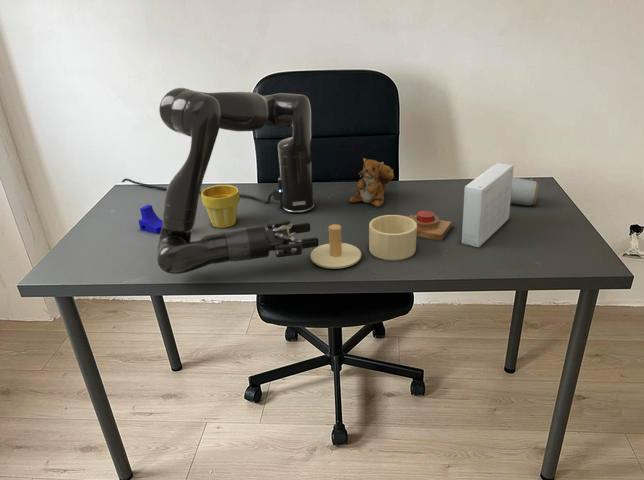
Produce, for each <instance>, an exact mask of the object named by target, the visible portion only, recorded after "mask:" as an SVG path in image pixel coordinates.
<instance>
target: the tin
mask: <svg viewBox="0 0 644 480" xmlns="http://www.w3.org/2000/svg"><path fill="white" fill-rule="evenodd" d="M417 237H418V236H417V223H416V222H415V221H414V220H413V219H411V218H409V216H406V215H399V214H385V215H379V216H377V217H374V218H372V220H370V221H369V224H368V248H369V249H368V251H369V252H370V254H371V255H372V256H373V257H375V258H378V259H382V260H386V261H399V260H400V261H401V260H405V259H408V258H410V257H412V256H413V255H414V254H415V253H416V250H417Z"/></svg>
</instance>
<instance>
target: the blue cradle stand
mask: <svg viewBox="0 0 644 480" xmlns="http://www.w3.org/2000/svg"><path fill="white" fill-rule="evenodd" d="M139 211H140V215H141V218H140V219H139V220H138V225H139V229H140V231H141V232H147V233H151V234H156V235H158V234H161V229H162V225H163V223H162V218H160V217H158V215H157V214H156V213H155V210H154V208H153V205H151V204H146V205H144V206H142V207H140V208H139Z"/></svg>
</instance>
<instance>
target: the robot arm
mask: <svg viewBox="0 0 644 480" xmlns="http://www.w3.org/2000/svg"><path fill="white" fill-rule="evenodd" d="M158 110H159V111H158V112H159V117H160V120H161V121H162V122H163V124H164V125H165V126H166V128H168V129H170V130H171V131H173V132H175V133H177V134H180V135H184V136H186V137H190V139H191V140H190V149H189V152H188V155H187V158H186V160H185V162H184V163H183V164H182V165H181V168H180V169H179V170H178V172H176V174H175V175H174V176H173V178H172V179H171V180H170V182H169V184H168V186H167V187H163V186H157V185H154V184H153V185H152V184H147V183H144V182H139V181H135V180H132V179H130V178H123V179H122V180H121V183H125V182H130V183H132V184H135V185H140V186H143V187H147V188H152V189H159V190H163V191H164V190H165V195H164V202H163V209H162V216H161V217H162V218H161V220H162V223H163V225H162V229H161V232H160V233H159V240H158V245H157V255H156V262H157V265H158V267H159V268H160V269H161V271H162V272H165V273H167V274H171V275H182V274H187V273H189V272H193V271H196V270H198V269H202V268H204V267H206V266H209V265H217V264H222V263H223V264H224V263H229V262H244V261H250V260H257V259H263V258H268V257H269V255H270V252H275V258H284V257H294V256H301V255H302V254H303V250H304V249H311V248H317V247H319V246H320V245H319V238H318V237H317V236H313V237H308V238H302V239H300V238H295V237H294V236H293V235H295V234H302V233H303V234H304V233H308V232H311V223H310V222H302V223H293V222H291V220H283V221H277V222H271V223H267V224H266V227H265V226H264V225H256V226H255V225H254V226H248V227H241V228H234V229H230V230H227V231H221V232H214V233H212V232H211V233H206V234H204V235H202V236H201V237H200V238H199V239H197V240H193V241H191V240H192V231H193V229H194V227H195V225H196V219H197V212H198V206H199V199H200V195H201V192H202V191H203V190H201V189H202V185H203V181H204V178H205V176H206V175H205V174H206V172H207V169H208V166H209V163H210V161H211V160H210V159H211V157H212V153H213V152H214V151H213V150H214V148H215V145H216V142H217V138H218V135H219V131H220V130H225V131H229V132H230V131H231V132H237V133H238V132H239V133H246V132H255V131H259V130H261V129H263V128H264V127H265V126H270V127H272V126H273V127H277V128H281V129H291V130H292V136H291V137H287V138H284V139H281V140H280V141H279V142H278V143H277V152H278V153H277V155H278V165H279V177H278V178H277V185H278V186H277V187H276V188H274V189H273V190H272V192H271V193H269V195H268V196H267V200H265V201H264V200H261V199H260V198H258V197H256V196H254V195H250V194H240V193H239V197H242V198H248V199H253V200H255V201H257V202H260V203H263V204H269V203H270V202H271V197H272V196H273V200H275V201H279V208H280V209H281V210H283V211H284V212H287V213H289V214H304V213H307V212H310V211H313V209H314V208H315V203H314V202H315V201H314V187H313V169H312V167H313V166H312V151H311V145H312V107H311V102H310V99H309V97H308V96H307V95H305V94H301V93H299V94H298V93H285V92H279V93H274V94H268V95H261V94H260V93H257V92H252V91H218V92H204V91H197V90H194V89H190V88H185V87H176V88H173V89H171V90H170V91H167V93H166V94H165V95H164V96H163V97H162V98H161V100H160V103H159V108H158Z"/></svg>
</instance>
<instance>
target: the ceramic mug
mask: <svg viewBox="0 0 644 480" xmlns="http://www.w3.org/2000/svg"><path fill="white" fill-rule="evenodd" d="M539 187H540V184H539V182H538V181H535V180H530V179H524V178H518V177H515V176H513V179H512V189H511V199H510V205H511V204H512V205H521V206H522V205H523V206H535V204H536V202H537V197H538V192H539Z"/></svg>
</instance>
